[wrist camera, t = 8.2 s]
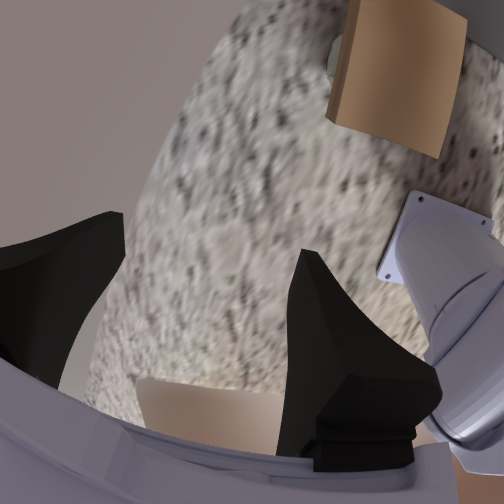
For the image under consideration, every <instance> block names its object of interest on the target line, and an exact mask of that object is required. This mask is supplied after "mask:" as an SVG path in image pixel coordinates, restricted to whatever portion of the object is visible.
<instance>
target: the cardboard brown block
mask: <svg viewBox="0 0 504 504" xmlns="http://www.w3.org/2000/svg"><path fill="white" fill-rule="evenodd" d="M467 21H468V20H467V19H465V18H463V17H462V16H460V15H458V14H456V13H455V12H453V11H451V10H449V9H448V8H446V7H444V6H442V5H440V4H438V3H436V2H434V1H432V0H349V5H348V10H347V16H346V21H345V26H344V31H343V37H342V42H341V47H340V52H339V57H338V61H337V66H336V71H335V76H334V80H333V85H332V90H331V94H330V99H329V103H328V107H327V112H326V116H325V117H326V118H328V119H329V120H330V121H332V122H333V123H334V124H336V125H339V126H343V127H347V128H350V129H354V130H357V131H360V132H364V133H367V134H370V135H373V136H376V137H379V138H382V139H385V140H388V141H391V142H394V143H397V144H400V145H403V146H405V147H408V148H411V149H413V150H416V151H419V152H421V153H424V154H426V155H429V156H431V157H434V158H436V159H438V158H439V155H440V152H441V148H442V145H443V142H444V138H445V135H446V131H447V128H448V124H449V120H450V116H451V112H452V108H453V104H454V100H455V95H456V91H457V86H458V81H459V76H460V71H461V65H462V59H463V53H464V46H465V39H466V31H467Z"/></svg>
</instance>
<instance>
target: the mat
mask: <svg viewBox="0 0 504 504" xmlns="http://www.w3.org/2000/svg"><path fill="white" fill-rule="evenodd" d="M432 1H434V2H436V3H438V4H440V5H442V6H444V7H446V8H448V9H449V10H451V11H453V12H455V13H456V14H458V15H460V16H462V17H463V18H465V19H467V20H468V21H467V31H466V38H467V39H469V40H471V41H472V42H474V43H475V44H477V45H478V46H480V47H481V48H483V49H484V50H486V51H487V52H489V53H490V54H492V55H493V56H495V57H496V58H497V59H499V60H500V61H502V62H503V63H504V0H432Z"/></svg>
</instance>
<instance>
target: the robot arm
mask: <svg viewBox="0 0 504 504" xmlns="http://www.w3.org/2000/svg"><path fill="white" fill-rule="evenodd" d="M421 196H422V200H421V201H418V199H419V197H421ZM483 220H484V221H483ZM482 221H483V223H482ZM481 223H482V224H481ZM123 225H124V224H123V213H118V212H113V211H109V212H105V213H102V214H99V215H96V216H93V217H91V218H88V219H86V220H83V221H81V222H79V223H76V224H74V225H71V226H69V227H66V228H64V229H61V230H58V231H56V232H53V233H51V234H48V235H45V236H42V237H39V238H36V239H33V240H30V241H27V242H23V243H19V244H15V245H11V246H7V247H2V248H0V504H459V500H458V492H457V485H456V478H455V472H454V466H453V460H452V455H451V451H452V452H453V453H454V454H455V456H456V457H457V458H458V460H459V461H460V462H461V464H462V466H463V468H464V469H465V471H467V472H470V473H476V474H485V475H501V476H504V246H503V245H502V244H501V243H500V242H499V241H498V240H497V239H496V237H495V236H494V235H493V234H492V233H491V232H492V230H493V228H494V221H493V220H492V219H490V218H488V217H485V216H483V215H481V214H478V213H476V212H473V211H471V210H469V209H466V208H464V207H461V206H459V205H456V204H453V203H451V202H448V201H446V200H443V199H440V198H437V197H435V196H432V195H429V194H426V193H424V192H421V191H418V190H412V191H411V192H410V193H409V195H408V198H407V200H406V203H405V206H404V208H403V211H402V214H401V216H400V219H399V221H398V224H397V226H396V229H395V231H394V234H393V236H392V238H391V241H390V243H389V245H388V248H387V250H386V252H385V255H384V257H383V259H382V261H381V264H380V266H379V268H378V270H377V273H376V275H377V278H378V279H379V280H383V281H388V282H393V283H398V284H403V285H405V286H406V288H407V291H408V293H409V295H410V297H411V300H412V302H413V304H414V307H415V309H416V311H417V314H418V316H419V319H420V321H421V323H422V326H423V328H424V331H425V334H426V336H427V339H428V341H429V347H428V349H427V350H426V352H425V353H424V354H423V356H424V359H425V362H424V361H422V360H421V359H419V358H417V357H416V356H414V355H413V354H411V353H410V352H408V351H407V350H406V349H404V348H403V347H401V346H400V345H399V344H397V343H396V342H395V341H394V340H392V339H391V338H390V337H389V336H387V335H386V334H385V333H384V332H383V331H382V330H380V329H379V328H378V327H377V326H376V325H375V324H374V323H373V322H372V321H371V320H370V319H369V318H368V317H367V316H366V315H365V314H364V313H363V312H362V311H361V310H360V309H359V308H358V307H357V306H356V304H355V303H354V302H353V301H352V300H351V298H350V297H349V296H348V295H347V293H346V292H345V291H344V290H343V288H342V287H341V286H340V284H339V283H338V282H337V280H336V279H335V277H334V276H333V274H332V273H331V272H330V270H329V269H328V267H327V266H326V264H325V263H324V261H323V260H322V258H321V257H320V255H319V254H318V252H315V251H311V250H306V249H301V252H300V255H299V259H298V262H297V265H296V269H295V272H294V275H293V278H292V282H291V285H290V288H289V293H288V303H287V343H288V371H287V381H286V390H285V399H284V407H283V414H282V421H281V427H280V434H279V440H278V445H277V451H276V456H273V455H264V454H257V453H250V452H243V451H236V450H231V449H225V448H220V447H215V446H210V445H206V444H201V443H197V442H193V441H188V440H184V439H180V438H177V437H173V436H169V435H165V434H162V433H159V432H155V431H152V430H149V429H146V428H143V427H140V426H137V425H134V424H131V423H128V422H125V421H122V420H120V419H117V418H114V417H112V416H109V415H107V414H104V413H102V412H100V411H98V410H96V409H94V408H92V407H90V406H88V405H87V404H85V403H83V402H81V401H79V400H77V399H75V398H73V397H71V396H68V395H66V394H64V393H62V392H60V391H58V386H59V383H60V379H61V375H62V372H63V369H64V366H65V364H66V361H67V358H68V355H69V352H70V350H71V348H72V345H73V343H74V341H75V338H76V336H77V334H78V332H79V330H80V328H81V326H82V324H83V322H84V320H85V318H86V316H87V315H88V313H89V312H90V310H91V308H92V307H93V306H94V304H95V303H96V301H97V300H98V298H99V297H100V296H101V294H102V293H103V291H104V290H105V289H106V287H107V286H108V284H109V283H110V281H111V280H112V279H113V277H114V276H115V274H116V273H117V271H118V269H119V267H120V265H121V263H122V261H123V259H124V258H125V256H126V254H125V240H124V226H123ZM387 274H389V276H386V275H387ZM422 421H423V423H424V425H425V427H426V428H427V430H428V431H429V433H430V434H431V435H432V436H433V437H434V438H435V439H436V440H437V441H438V442H440V443H433V444H426V445H421V446H418V447H415V448H413V445H412V440H414V439H415V438H416V436H417V434H416V429H415V427H416V425H418V424H419V423H420V422H422Z"/></svg>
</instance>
